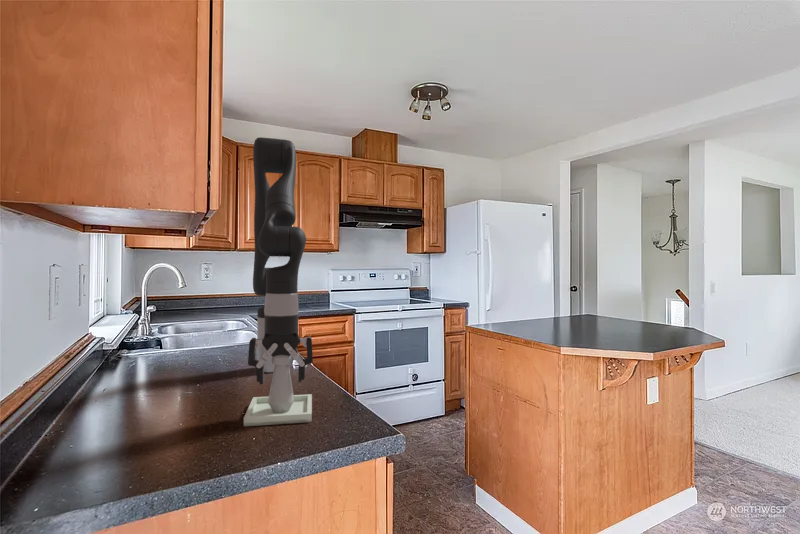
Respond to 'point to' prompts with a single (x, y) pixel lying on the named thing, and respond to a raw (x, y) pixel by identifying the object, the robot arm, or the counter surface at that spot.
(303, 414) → the tray
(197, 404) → the counter surface
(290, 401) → the salt shaker
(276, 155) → the robot arm
